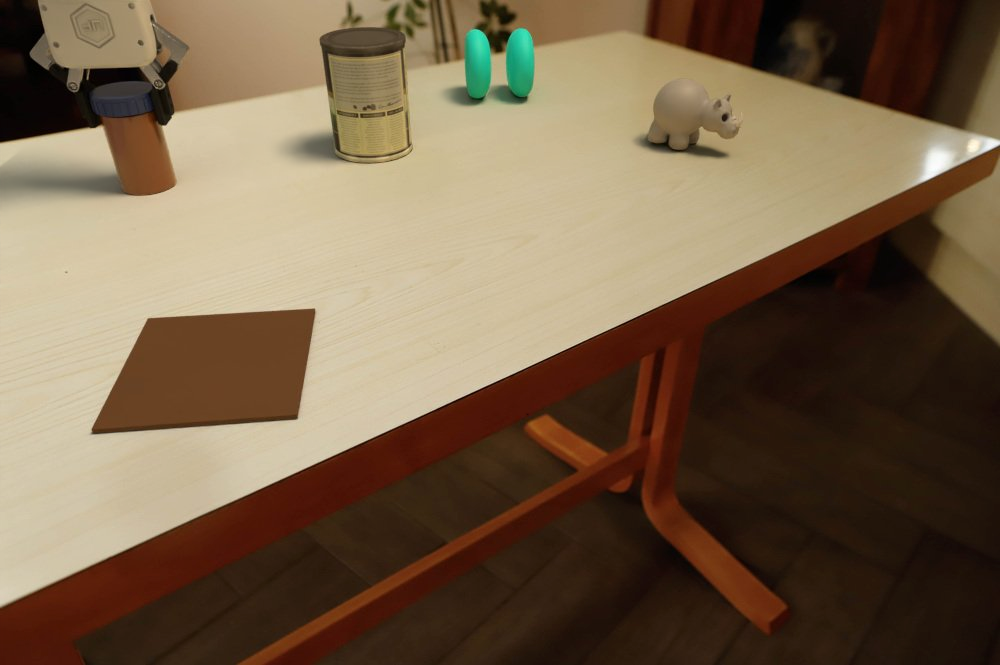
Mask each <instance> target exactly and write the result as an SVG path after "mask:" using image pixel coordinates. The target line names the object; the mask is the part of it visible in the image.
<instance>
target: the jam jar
mask: <svg viewBox="0 0 1000 665" xmlns="http://www.w3.org/2000/svg"><path fill="white" fill-rule="evenodd" d="M99 117H100V120H101V124H100V125H101V127H102V131H103V133H104V136H105V138H106V142H107V145H108V148H109V152H110V155H111V158H112V161H113V164H114V168H115V171H116V175H117V177H118V181H119V184H120V187H121V189H122V190H121V191H123V192H124V193H126V194H128V195H131V196H132V195H133V196H147V195H155V194H159V193H163V192H165V191H168V190H170V189H172V188H173V187H175V185H176V184H177V182H178V179H177V176H176V173H175V168H174V165H173V160H172V157H171V153H170V150H169V147H168V142H167V139H166V135H165V131H164V127H163V126H161V125H159V124H158V121H157V117H156V114H155V110H154V109H153V110H151V111H148V112H145V113H142V114H137V115H132V116H123V117H107V116H101V115H99Z"/></svg>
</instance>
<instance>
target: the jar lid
mask: <svg viewBox="0 0 1000 665" xmlns="http://www.w3.org/2000/svg"><path fill="white" fill-rule="evenodd" d="M152 88H153V87H152V84H151V82H148V81H139V80H132V81H131V80H129V81H117V82H112V83H106V84H103V85H99V86H96V87H95V88H94V89H93V90H91V91H90V92H89V97H90V99H89V100H90V103H91V106H92V109H93V111H94V112H95V113H96V114H98V115H101V116H107V117H123V116H132V115H137V114H142V113H145V112H148V111H151V110H153V109H154V106H153V103H152V99H151V95H150V90H151V89H152Z"/></svg>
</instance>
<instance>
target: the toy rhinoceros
mask: <svg viewBox="0 0 1000 665" xmlns="http://www.w3.org/2000/svg"><path fill="white" fill-rule="evenodd" d="M731 96H732V93H728V94H726V95H725V96H724V97H722V98H713V99H710V96H709V93H708V92H707V90H706V88H705V87H704V85H702V84H701V83H700V82H698V81H696V80H694V79H692V78H687V77H681V78H676V79H672V80H671V81H669V82H667V83H666V84H664V85H663V86H662V87H661V88H660V89H659V90H658V92H657V94H656V96H655V98H654V100H653V101H654V102H653V105H652V106H653V107H652V111H653V120H652V122H651V124H650V126H649V129H648V133H647V140H648V141H649V142H650V143H653V144H664V143H666V142H667V141H668V146H669V147H670V148H671V149H673V150H677V151H684V150H686V149H688V147H689V145H692V144H696V143H698V142H699V139H700V134H701V133H700V128H701V127H702V128H703V129H704V130H705V131H706V132H710V133H716V134H717V135H718V136H719V137H720V138H722V139H723V140H732V139H734V138H735V137H736V136H737V135H738V134H739V131H740V128H741V125H742V124H743V122H744V121H743V120H744V118H743V112H740V114H739V116H738V118H737V119H736V117H737V116H736V115H733V107H732V105H731V104H730V100H731Z"/></svg>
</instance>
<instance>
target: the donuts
mask: <svg viewBox="0 0 1000 665" xmlns="http://www.w3.org/2000/svg"><path fill="white" fill-rule="evenodd" d="M534 47H535V46H534V41H533V36H532V34H531V32H529V31H528V30H527V29H526V28H522V27H520V28H517V29H515V30H513V31H512V33H511V34H510V36H509V38H508V39H507V42H506V50H505V71H506V72H505V73H506V81H507V85H508V88H509V89H510V91H511V92H512V94H513V95H514V96H516V97H518V98H526V97H527V96H529V94H530V93H531V92H532V89H533V86H534V81H535V48H534ZM464 74H465V85H466V90H467V93H468V95H469V96H470V97H471V98H473V99H481V98H483V97H484V96H486V95H487V93H488V91H489V89H490V87H491V82H492V54H491V46H490V41H489V40H488V37H487V36H486V34H485V33H484V32H483V31H482V30H480V29H477V28H473V29H470V30H469V31H468V32H467V33H466V35H465V38H464Z"/></svg>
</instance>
